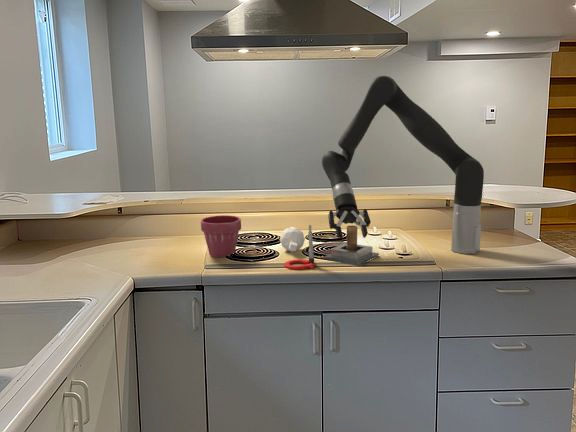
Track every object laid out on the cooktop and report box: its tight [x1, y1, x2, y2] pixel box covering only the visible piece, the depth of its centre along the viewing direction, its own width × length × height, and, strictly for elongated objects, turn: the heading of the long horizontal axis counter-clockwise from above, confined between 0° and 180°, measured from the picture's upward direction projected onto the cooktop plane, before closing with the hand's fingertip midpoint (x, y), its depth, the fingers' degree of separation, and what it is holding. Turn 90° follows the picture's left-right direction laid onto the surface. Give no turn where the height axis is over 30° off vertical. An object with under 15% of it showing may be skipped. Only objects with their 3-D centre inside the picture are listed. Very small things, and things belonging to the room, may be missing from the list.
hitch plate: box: [323, 242, 380, 266], centre depth 196 cm, size 14×14×4 cm
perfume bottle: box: [279, 226, 306, 253], centre depth 204 cm, size 9×9×12 cm
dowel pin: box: [346, 225, 358, 251], centre depth 195 cm, size 4×4×11 cm
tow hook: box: [283, 224, 315, 270], centre depth 186 cm, size 9×14×10 cm
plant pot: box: [200, 214, 242, 258], centre depth 201 cm, size 14×14×13 cm
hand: (353, 237), depth 194 cm, fingers open, 8 cm apart
